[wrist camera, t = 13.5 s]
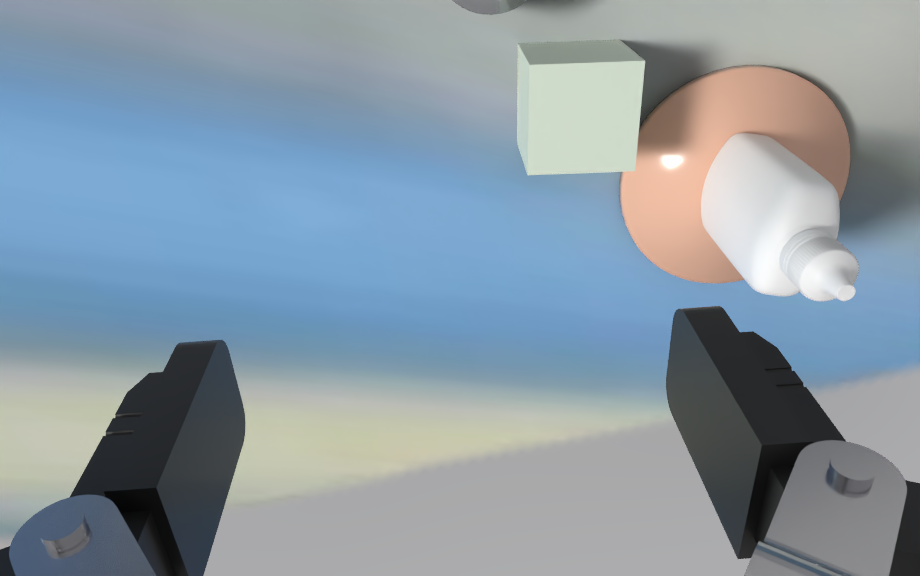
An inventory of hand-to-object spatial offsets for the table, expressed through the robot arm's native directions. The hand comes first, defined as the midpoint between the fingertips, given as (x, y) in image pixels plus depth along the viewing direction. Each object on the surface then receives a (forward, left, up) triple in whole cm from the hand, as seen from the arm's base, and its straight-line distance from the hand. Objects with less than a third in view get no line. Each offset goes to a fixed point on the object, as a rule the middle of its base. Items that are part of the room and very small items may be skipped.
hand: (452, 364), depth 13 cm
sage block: (+2, +6, -26) cm, 27 cm away
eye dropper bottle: (+7, +15, -25) cm, 30 cm away
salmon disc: (+7, +15, -26) cm, 31 cm away
